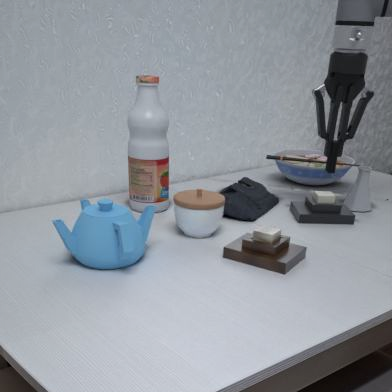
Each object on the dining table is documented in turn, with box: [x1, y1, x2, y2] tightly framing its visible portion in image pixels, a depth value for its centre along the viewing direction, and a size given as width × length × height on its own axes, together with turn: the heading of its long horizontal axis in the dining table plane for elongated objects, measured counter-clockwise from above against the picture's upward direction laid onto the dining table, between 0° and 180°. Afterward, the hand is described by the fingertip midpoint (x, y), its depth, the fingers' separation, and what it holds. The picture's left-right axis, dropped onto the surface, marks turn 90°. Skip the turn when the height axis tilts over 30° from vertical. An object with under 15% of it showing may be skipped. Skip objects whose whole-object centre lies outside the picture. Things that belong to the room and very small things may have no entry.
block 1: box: [222, 232, 308, 276], centre depth 97 cm, size 13×10×4 cm
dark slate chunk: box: [218, 176, 280, 222], centre depth 124 cm, size 15×22×5 cm
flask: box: [342, 165, 373, 213], centre depth 125 cm, size 7×7×10 cm
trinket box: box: [172, 187, 225, 239], centre depth 105 cm, size 11×11×9 cm
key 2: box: [312, 190, 336, 204], centre depth 118 cm, size 4×4×2 cm
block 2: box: [289, 195, 356, 225], centre depth 119 cm, size 13×10×4 cm
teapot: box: [51, 198, 156, 270], centre depth 92 cm, size 15×15×11 cm
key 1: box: [252, 224, 282, 244], centre depth 95 cm, size 4×4×2 cm
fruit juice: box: [126, 74, 170, 213], centre depth 114 cm, size 9×9×28 cm
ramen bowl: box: [265, 148, 361, 187], centre depth 143 cm, size 25×23×8 cm
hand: (329, 171), depth 115 cm, fingers closed
